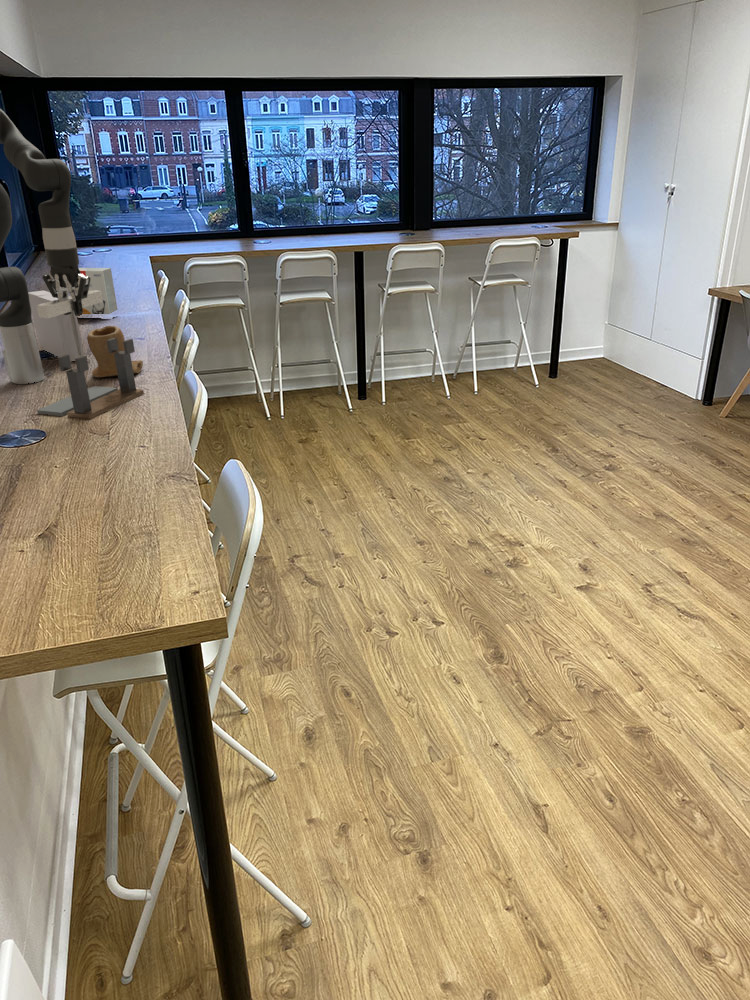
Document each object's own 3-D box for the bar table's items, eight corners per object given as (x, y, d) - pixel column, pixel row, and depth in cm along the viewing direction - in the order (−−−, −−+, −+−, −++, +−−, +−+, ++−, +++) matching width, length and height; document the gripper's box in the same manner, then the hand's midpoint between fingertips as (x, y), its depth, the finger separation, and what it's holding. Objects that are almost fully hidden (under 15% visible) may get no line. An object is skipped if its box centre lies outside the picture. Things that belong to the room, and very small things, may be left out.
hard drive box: (76, 319, 314) (67, 270, 306) (86, 315, 321) (76, 267, 313) (111, 319, 312) (102, 270, 303) (119, 315, 319) (111, 267, 310)
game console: (68, 363, 247) (55, 302, 239) (39, 349, 266) (26, 292, 258) (85, 360, 251) (73, 299, 242) (55, 347, 270) (43, 290, 261)
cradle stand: (68, 416, 196) (55, 357, 189) (123, 391, 215) (113, 337, 209) (89, 419, 194) (77, 359, 187) (143, 393, 213) (134, 338, 206)
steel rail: (38, 317, 188) (36, 305, 186) (93, 301, 205) (92, 290, 204) (48, 318, 187) (46, 306, 185) (102, 301, 204) (101, 290, 203)
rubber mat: (37, 413, 199) (37, 410, 199) (95, 389, 219) (94, 385, 218) (61, 416, 197) (61, 412, 196) (117, 391, 216) (117, 387, 216)
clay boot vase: (91, 383, 225) (81, 333, 219) (94, 372, 236) (85, 325, 229) (143, 378, 228) (135, 328, 222) (144, 368, 239) (136, 321, 232)
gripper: (93, 245, 190) (104, 313, 198) (48, 243, 194) (61, 310, 202) (73, 249, 184) (85, 319, 191) (27, 246, 188) (41, 316, 196)
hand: (73, 314), depth 197 cm, fingers closed on steel rail, 3 cm apart
